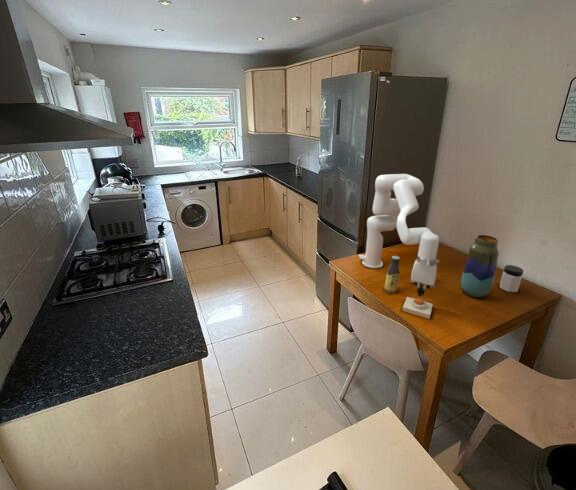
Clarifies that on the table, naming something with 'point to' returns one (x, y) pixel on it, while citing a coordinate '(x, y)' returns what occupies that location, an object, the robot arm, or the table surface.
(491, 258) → the vase
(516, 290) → the jar
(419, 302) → the button
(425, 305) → the block
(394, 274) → the sauce bottle
